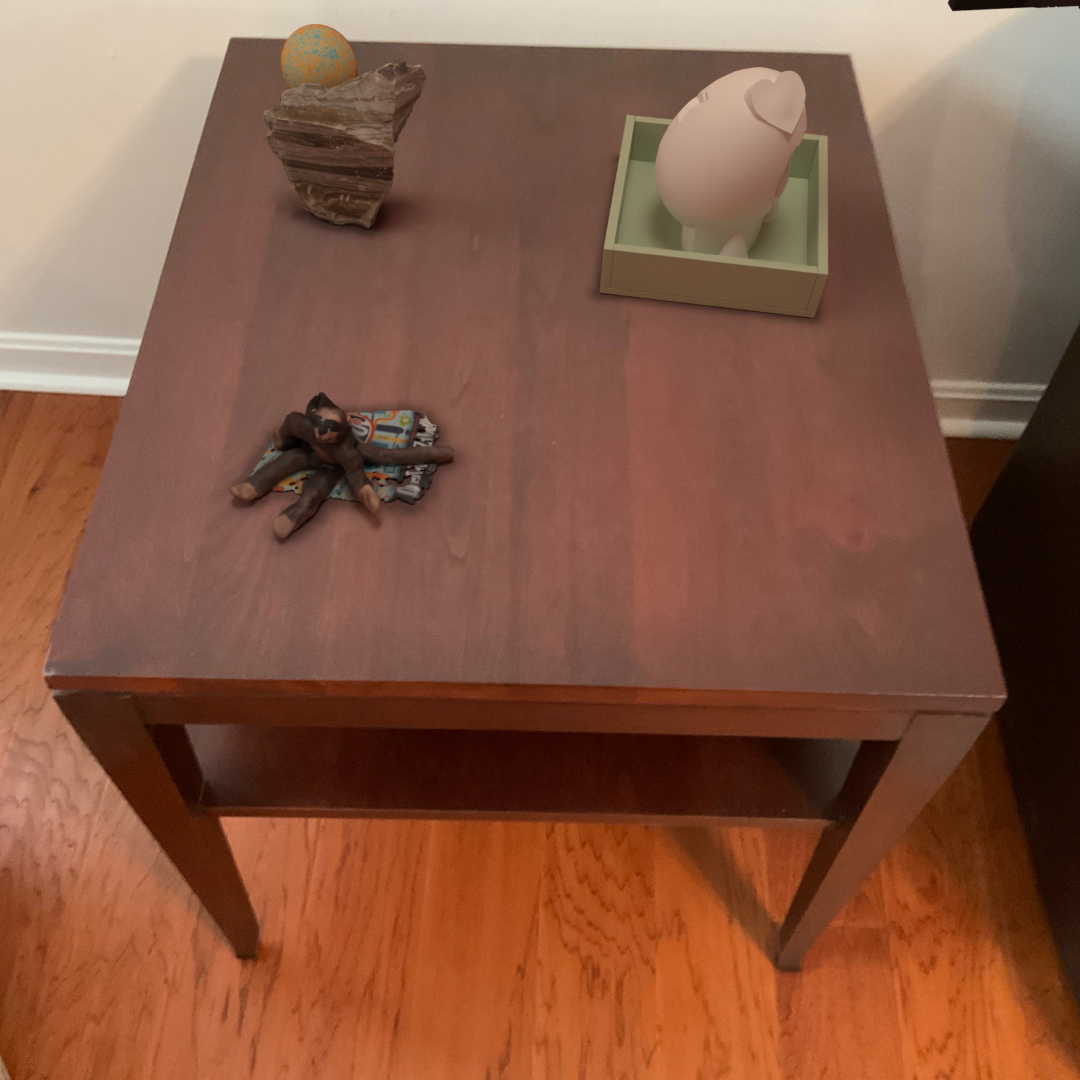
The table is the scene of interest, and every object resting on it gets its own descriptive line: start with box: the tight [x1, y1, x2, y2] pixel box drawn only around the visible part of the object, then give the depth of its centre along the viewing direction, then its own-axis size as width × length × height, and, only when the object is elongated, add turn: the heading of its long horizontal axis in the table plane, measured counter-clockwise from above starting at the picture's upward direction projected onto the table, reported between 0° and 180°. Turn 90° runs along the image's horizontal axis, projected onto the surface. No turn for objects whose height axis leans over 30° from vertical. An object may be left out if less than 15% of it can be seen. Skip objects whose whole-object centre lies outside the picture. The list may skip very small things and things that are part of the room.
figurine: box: [656, 66, 808, 259], centre depth 82 cm, size 11×11×15 cm
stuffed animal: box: [228, 391, 455, 539], centre depth 74 cm, size 12×10×12 cm
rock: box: [263, 58, 427, 230], centre depth 84 cm, size 13×6×15 cm, turn 72°
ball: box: [280, 23, 358, 89], centre depth 96 cm, size 7×7×7 cm
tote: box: [599, 114, 829, 319], centre depth 87 cm, size 18×18×5 cm
